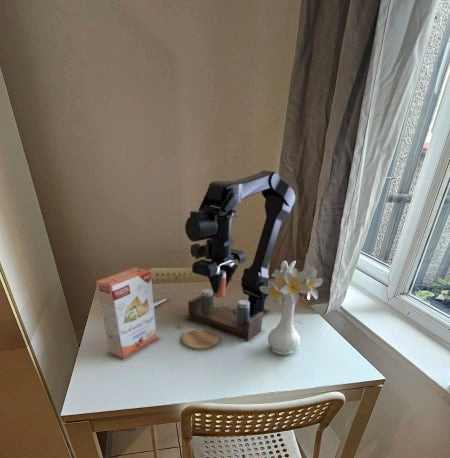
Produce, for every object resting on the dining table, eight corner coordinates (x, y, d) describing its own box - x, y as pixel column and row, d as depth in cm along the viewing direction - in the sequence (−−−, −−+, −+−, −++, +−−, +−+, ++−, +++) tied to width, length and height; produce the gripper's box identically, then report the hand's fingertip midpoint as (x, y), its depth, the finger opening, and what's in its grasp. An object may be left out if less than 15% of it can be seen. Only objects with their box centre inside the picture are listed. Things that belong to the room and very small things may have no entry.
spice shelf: (203, 311, 118) (203, 294, 114) (261, 331, 107) (263, 312, 103) (188, 319, 112) (188, 301, 109) (247, 341, 102) (249, 321, 98)
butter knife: (110, 324, 107) (117, 326, 105) (163, 297, 126) (169, 299, 124) (110, 326, 107) (117, 328, 106) (163, 299, 126) (169, 300, 125)
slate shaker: (240, 319, 107) (242, 298, 103) (250, 322, 105) (252, 301, 101) (234, 323, 105) (235, 302, 100) (244, 327, 103) (245, 305, 99)
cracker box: (124, 360, 92) (111, 285, 79) (108, 353, 94) (93, 280, 82) (158, 339, 101) (151, 270, 89) (143, 333, 104) (134, 265, 91)
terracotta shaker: (218, 291, 103) (218, 268, 99) (228, 294, 102) (229, 271, 97) (210, 295, 101) (210, 272, 97) (220, 298, 99) (221, 274, 95)
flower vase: (247, 358, 94) (255, 269, 79) (276, 332, 107) (287, 251, 92) (290, 373, 89) (306, 281, 74) (314, 344, 102) (333, 260, 86)
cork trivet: (197, 328, 108) (197, 326, 107) (225, 338, 103) (225, 337, 102) (174, 341, 100) (174, 340, 100) (203, 353, 96) (203, 352, 95)
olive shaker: (206, 307, 113) (206, 287, 109) (215, 310, 112) (215, 290, 107) (199, 311, 111) (198, 291, 107) (208, 314, 109) (208, 294, 105)
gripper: (217, 225, 101) (216, 277, 110) (175, 236, 88) (178, 293, 98) (248, 231, 96) (244, 284, 105) (209, 244, 84) (208, 303, 93)
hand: (219, 291), depth 100 cm, fingers closed on terracotta shaker, 4 cm apart
